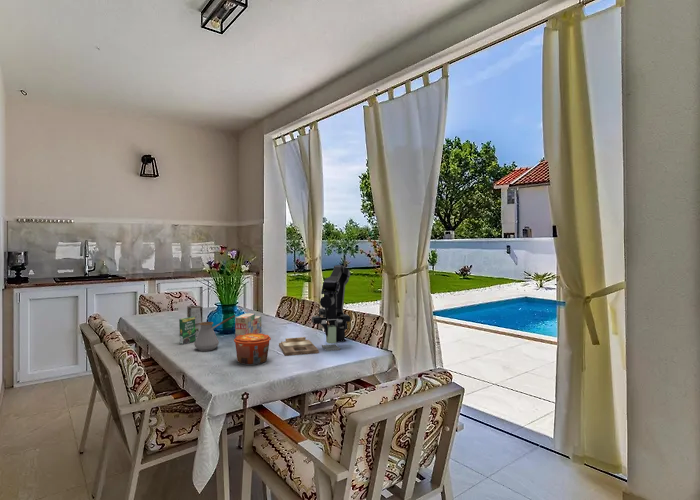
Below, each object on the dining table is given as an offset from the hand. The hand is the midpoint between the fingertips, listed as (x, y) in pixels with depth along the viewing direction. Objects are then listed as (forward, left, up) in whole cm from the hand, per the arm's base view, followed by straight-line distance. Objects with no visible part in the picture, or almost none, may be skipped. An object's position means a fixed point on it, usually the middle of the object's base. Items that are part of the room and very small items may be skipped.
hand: (331, 336), depth 212 cm
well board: (+16, -2, -6) cm, 17 cm away
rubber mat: (0, 0, -6) cm, 6 cm away
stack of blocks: (+36, -40, -6) cm, 54 cm away
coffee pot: (+54, -19, -6) cm, 58 cm away
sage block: (0, 0, -3) cm, 3 cm away
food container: (+39, +10, -6) cm, 41 cm away
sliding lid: (+16, -6, -4) cm, 18 cm away
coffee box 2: (+68, -33, -6) cm, 76 cm away
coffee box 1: (+65, -50, -6) cm, 82 cm away
